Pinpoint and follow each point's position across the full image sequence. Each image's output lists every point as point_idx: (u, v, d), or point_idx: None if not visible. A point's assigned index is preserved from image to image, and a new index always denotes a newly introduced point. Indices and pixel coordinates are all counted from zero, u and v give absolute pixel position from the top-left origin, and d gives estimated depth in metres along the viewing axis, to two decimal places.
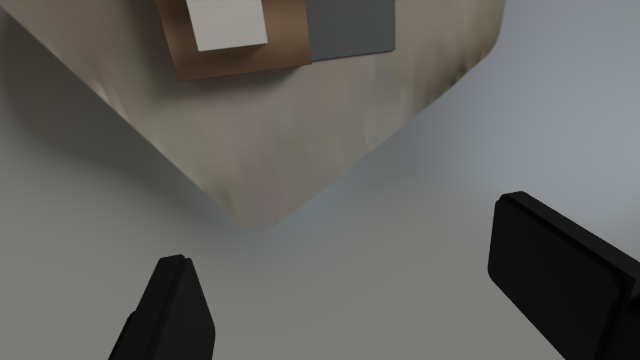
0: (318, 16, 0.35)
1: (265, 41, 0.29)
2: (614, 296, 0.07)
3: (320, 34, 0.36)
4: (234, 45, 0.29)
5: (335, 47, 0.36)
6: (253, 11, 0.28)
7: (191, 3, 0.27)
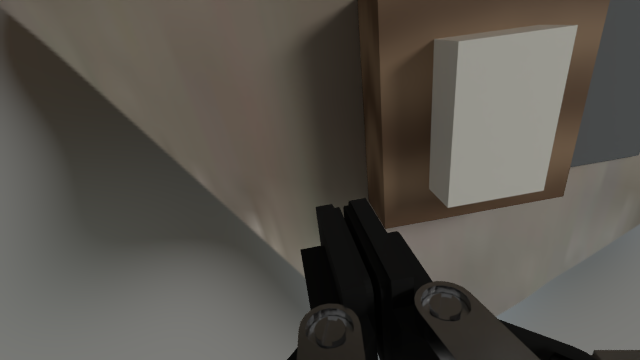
0: None
1: (541, 189, 0.20)
2: (383, 296, 0.07)
3: None
4: (498, 197, 0.20)
5: None
6: (539, 152, 0.19)
7: (457, 148, 0.18)
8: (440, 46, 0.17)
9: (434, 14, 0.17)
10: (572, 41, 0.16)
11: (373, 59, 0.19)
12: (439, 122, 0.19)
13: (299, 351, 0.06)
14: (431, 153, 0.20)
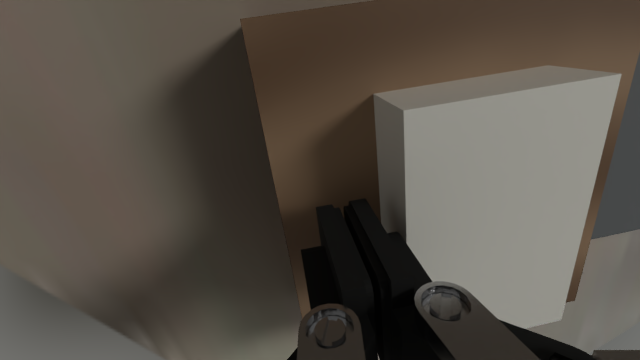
0: None
1: (557, 318, 0.12)
2: (383, 296, 0.07)
3: None
4: None
5: None
6: (554, 270, 0.11)
7: None
8: (381, 108, 0.10)
9: (349, 53, 0.10)
10: (611, 101, 0.09)
11: None
12: (389, 224, 0.11)
13: (299, 351, 0.06)
14: None
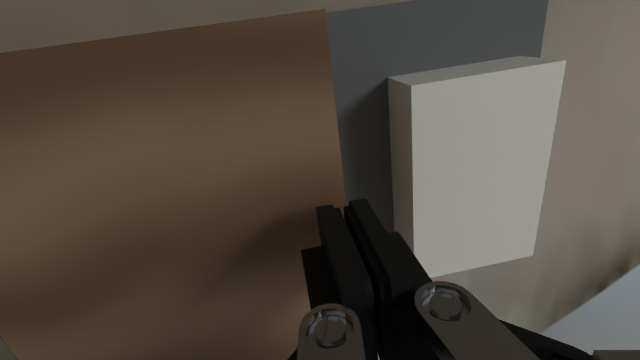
0: None
1: None
2: (383, 296, 0.07)
3: None
4: None
5: None
6: None
7: None
8: None
9: None
10: (390, 94, 0.14)
11: None
12: None
13: (299, 351, 0.06)
14: None
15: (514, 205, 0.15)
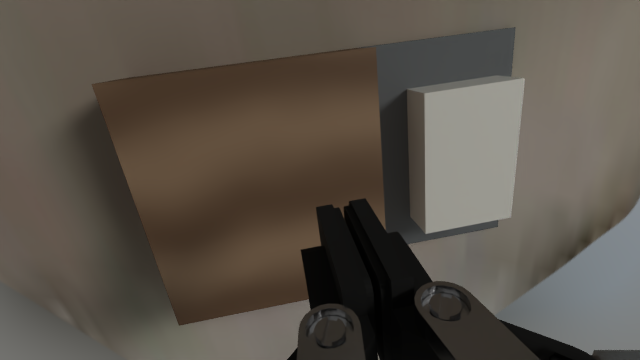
0: (390, 194, 0.23)
1: None
2: (383, 296, 0.07)
3: (391, 217, 0.24)
4: None
5: (412, 231, 0.24)
6: None
7: None
8: None
9: (168, 104, 0.15)
10: (408, 100, 0.21)
11: None
12: None
13: (299, 351, 0.06)
14: None
15: (495, 178, 0.21)
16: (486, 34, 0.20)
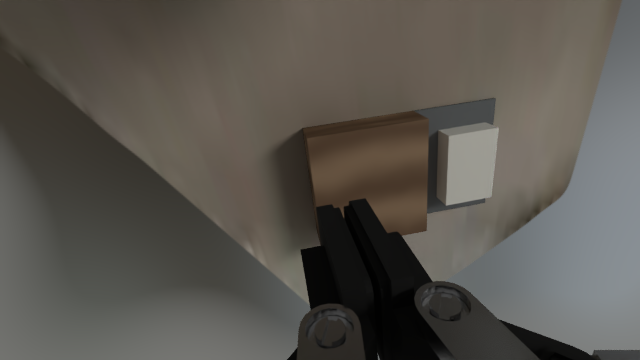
0: None
1: None
2: (383, 296, 0.07)
3: None
4: None
5: (437, 204, 0.44)
6: None
7: None
8: None
9: (336, 146, 0.34)
10: (439, 135, 0.40)
11: (309, 163, 0.36)
12: None
13: (299, 351, 0.06)
14: None
15: (483, 176, 0.40)
16: (480, 102, 0.39)
